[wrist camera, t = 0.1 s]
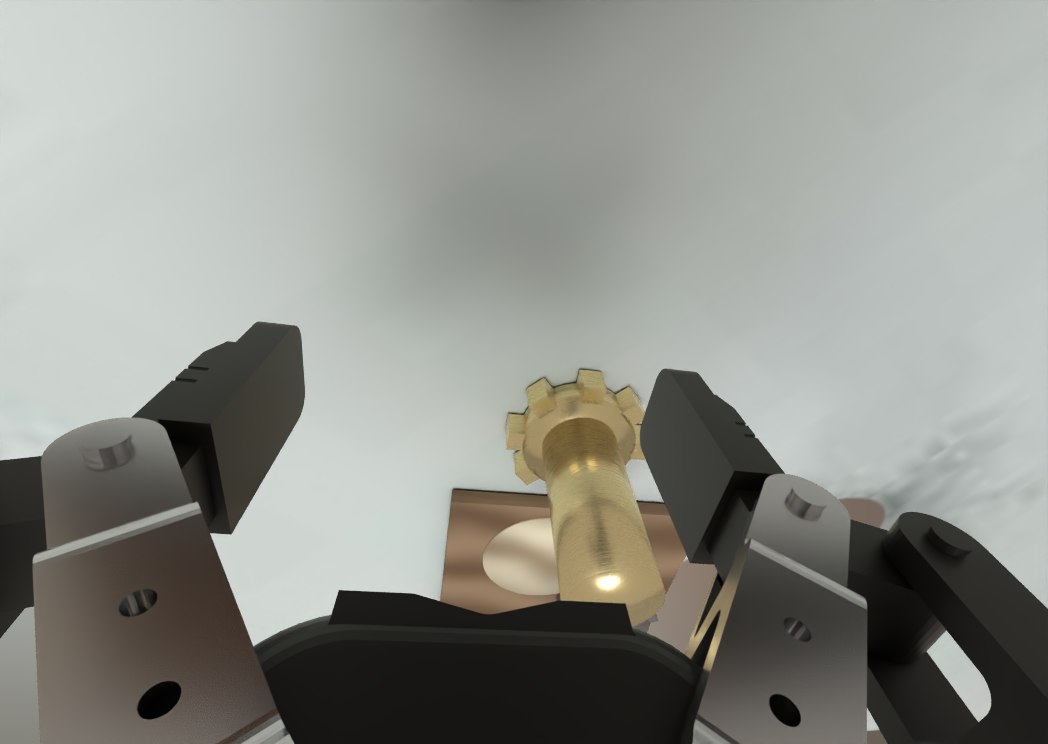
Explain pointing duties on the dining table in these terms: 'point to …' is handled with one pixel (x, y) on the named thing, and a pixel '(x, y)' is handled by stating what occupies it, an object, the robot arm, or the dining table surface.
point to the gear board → (523, 550)
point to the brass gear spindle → (590, 490)
